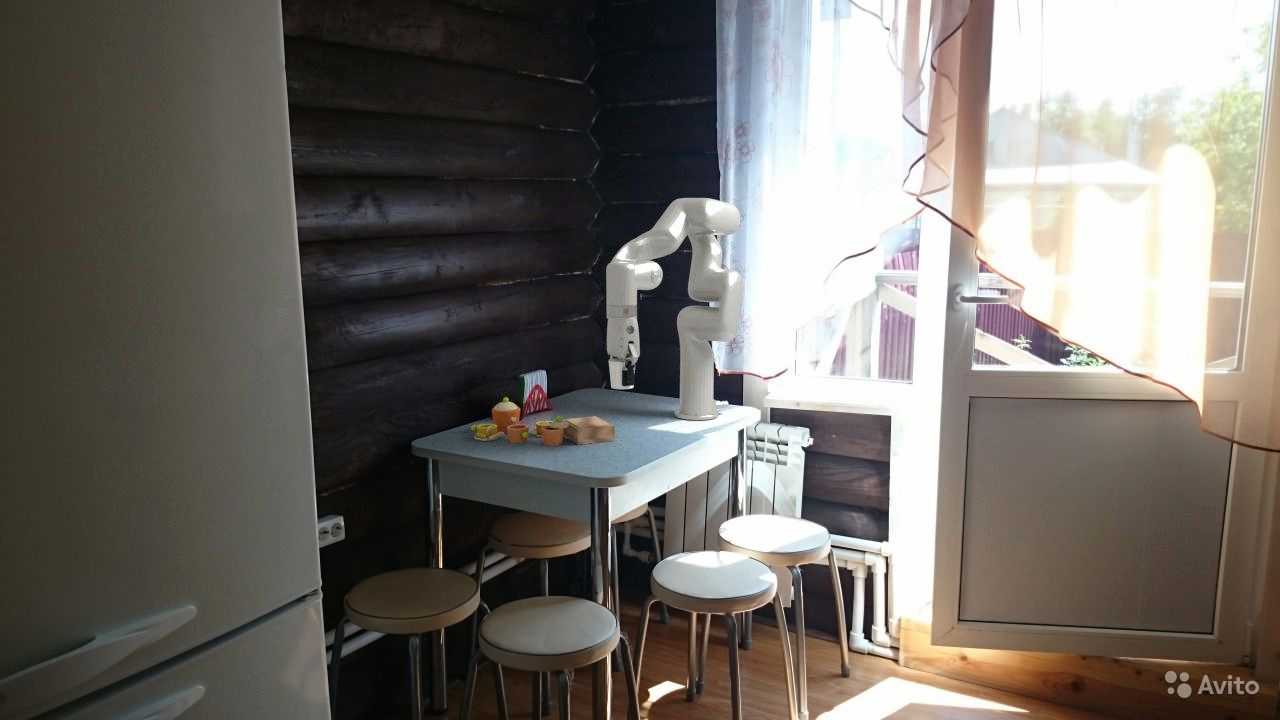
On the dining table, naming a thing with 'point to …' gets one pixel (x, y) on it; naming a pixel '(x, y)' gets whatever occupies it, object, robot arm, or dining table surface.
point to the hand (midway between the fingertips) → (622, 382)
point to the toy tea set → (518, 426)
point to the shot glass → (617, 373)
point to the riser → (589, 430)
